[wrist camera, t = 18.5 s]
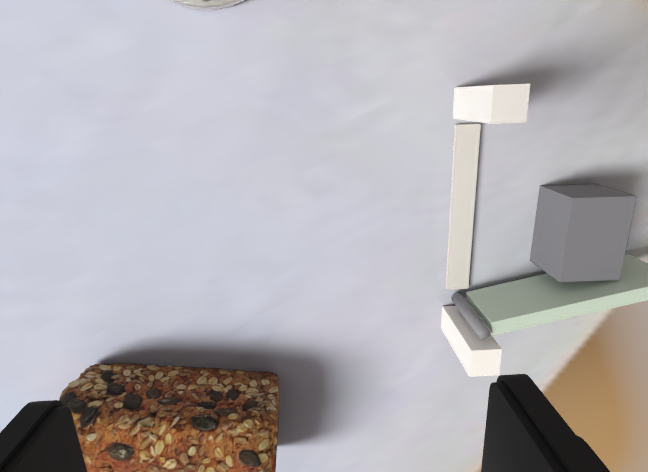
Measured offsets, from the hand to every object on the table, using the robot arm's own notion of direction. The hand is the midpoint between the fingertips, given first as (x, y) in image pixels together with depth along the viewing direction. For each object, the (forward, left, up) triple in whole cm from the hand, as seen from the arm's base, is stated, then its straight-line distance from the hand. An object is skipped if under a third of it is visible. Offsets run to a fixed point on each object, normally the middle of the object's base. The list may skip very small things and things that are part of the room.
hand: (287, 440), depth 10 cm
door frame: (+2, +14, -28) cm, 32 cm away
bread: (+22, -12, -29) cm, 38 cm away
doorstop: (+4, +23, -28) cm, 37 cm away
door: (+9, +21, -28) cm, 36 cm away
